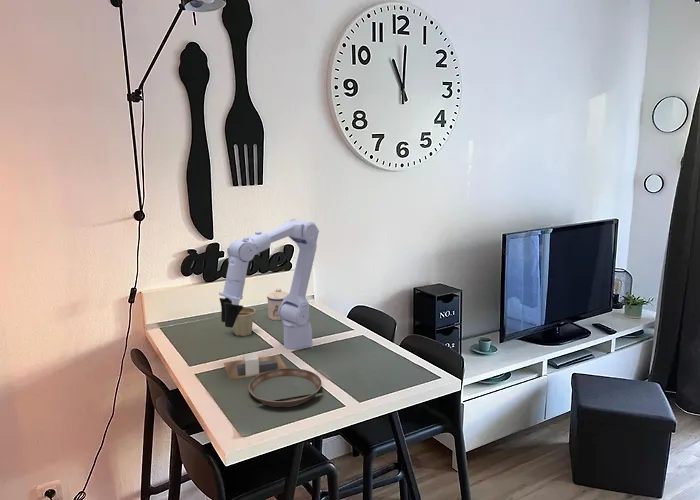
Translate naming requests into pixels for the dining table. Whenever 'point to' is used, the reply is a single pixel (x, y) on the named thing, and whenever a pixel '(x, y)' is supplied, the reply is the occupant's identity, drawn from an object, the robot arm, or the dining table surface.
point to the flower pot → (244, 322)
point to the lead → (263, 367)
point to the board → (232, 366)
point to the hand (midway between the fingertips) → (226, 324)
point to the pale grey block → (251, 364)
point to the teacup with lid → (275, 303)
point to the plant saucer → (280, 373)
